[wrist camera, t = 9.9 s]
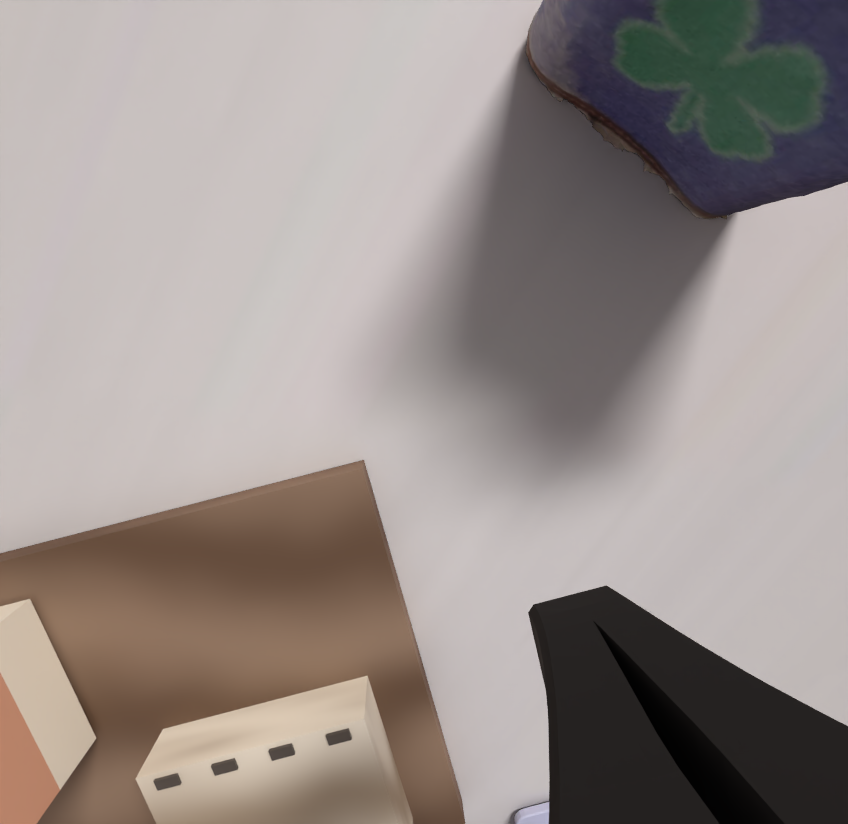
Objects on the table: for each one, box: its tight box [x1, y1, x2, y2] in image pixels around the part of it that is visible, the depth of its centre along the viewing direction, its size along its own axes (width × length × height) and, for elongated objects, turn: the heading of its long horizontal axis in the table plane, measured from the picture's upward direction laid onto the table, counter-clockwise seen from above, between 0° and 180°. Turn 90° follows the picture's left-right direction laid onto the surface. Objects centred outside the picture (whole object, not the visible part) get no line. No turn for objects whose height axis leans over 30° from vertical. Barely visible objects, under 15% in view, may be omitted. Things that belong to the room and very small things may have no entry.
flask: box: [526, 0, 848, 219], centre depth 11 cm, size 9×3×11 cm, turn 55°
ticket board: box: [0, 460, 465, 824], centre depth 18 cm, size 16×20×3 cm
